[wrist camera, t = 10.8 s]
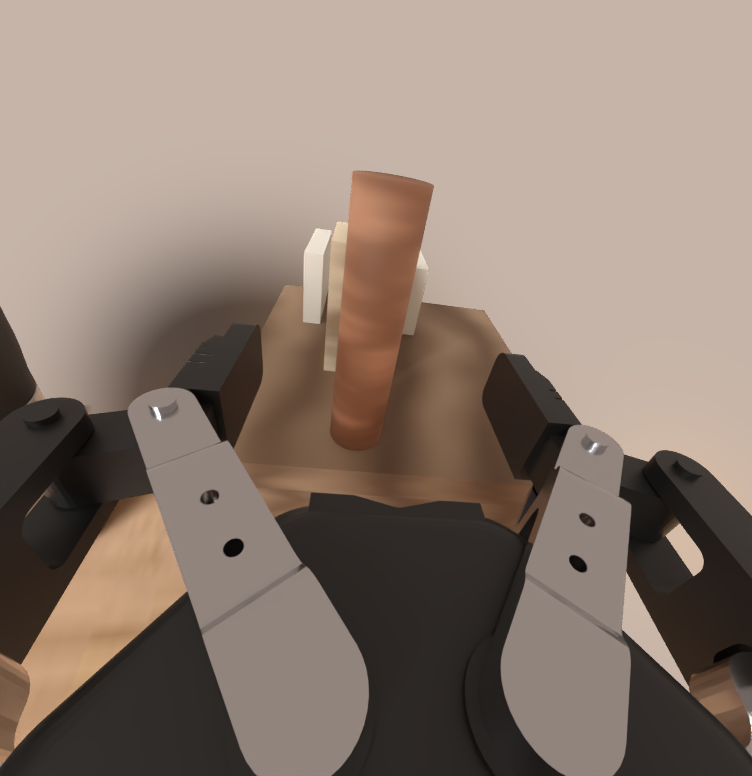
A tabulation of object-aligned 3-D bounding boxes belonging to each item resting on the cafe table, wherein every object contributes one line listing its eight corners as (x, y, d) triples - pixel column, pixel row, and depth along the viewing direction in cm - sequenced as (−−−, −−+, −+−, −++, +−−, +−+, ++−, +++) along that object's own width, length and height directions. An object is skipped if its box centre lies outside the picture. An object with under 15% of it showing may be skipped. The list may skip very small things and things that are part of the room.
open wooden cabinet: (240, 632, 31) (194, 458, 17) (288, 441, 51) (285, 284, 36) (469, 638, 34) (599, 490, 19) (432, 453, 53) (483, 310, 38)
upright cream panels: (302, 322, 30) (304, 252, 27) (314, 288, 36) (316, 228, 33) (413, 335, 31) (429, 269, 28) (405, 300, 38) (417, 243, 34)
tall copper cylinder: (309, 447, 19) (320, 171, 11) (329, 336, 29) (342, 150, 21) (398, 454, 19) (469, 196, 12) (388, 343, 29) (421, 164, 21)
